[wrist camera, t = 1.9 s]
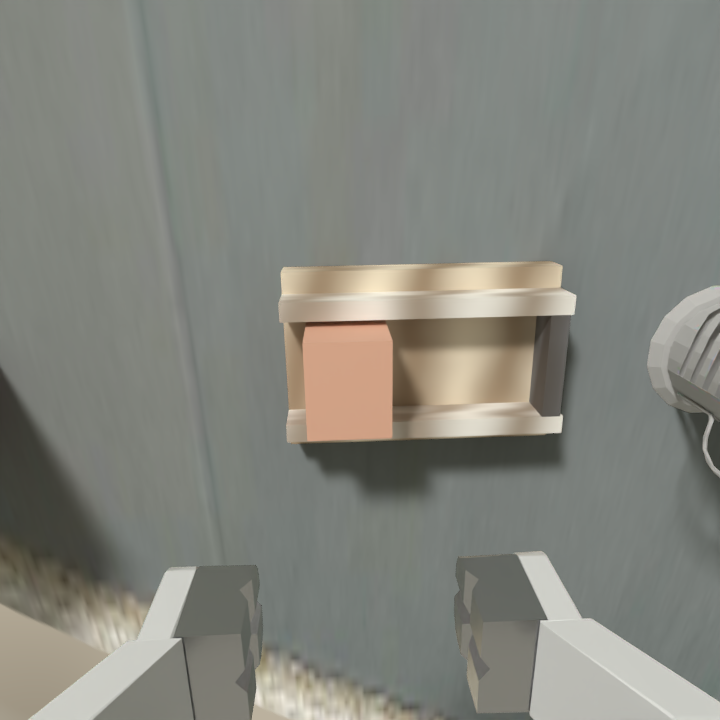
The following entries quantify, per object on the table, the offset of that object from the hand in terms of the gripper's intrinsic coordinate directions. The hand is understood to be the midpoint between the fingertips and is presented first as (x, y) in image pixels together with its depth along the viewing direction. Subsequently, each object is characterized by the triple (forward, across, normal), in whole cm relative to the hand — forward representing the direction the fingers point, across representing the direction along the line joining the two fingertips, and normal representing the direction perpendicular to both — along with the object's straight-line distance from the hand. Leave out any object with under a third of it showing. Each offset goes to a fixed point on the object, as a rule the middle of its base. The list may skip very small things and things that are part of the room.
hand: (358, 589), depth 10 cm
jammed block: (+27, 0, +5) cm, 27 cm away
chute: (+29, -5, +5) cm, 30 cm away
